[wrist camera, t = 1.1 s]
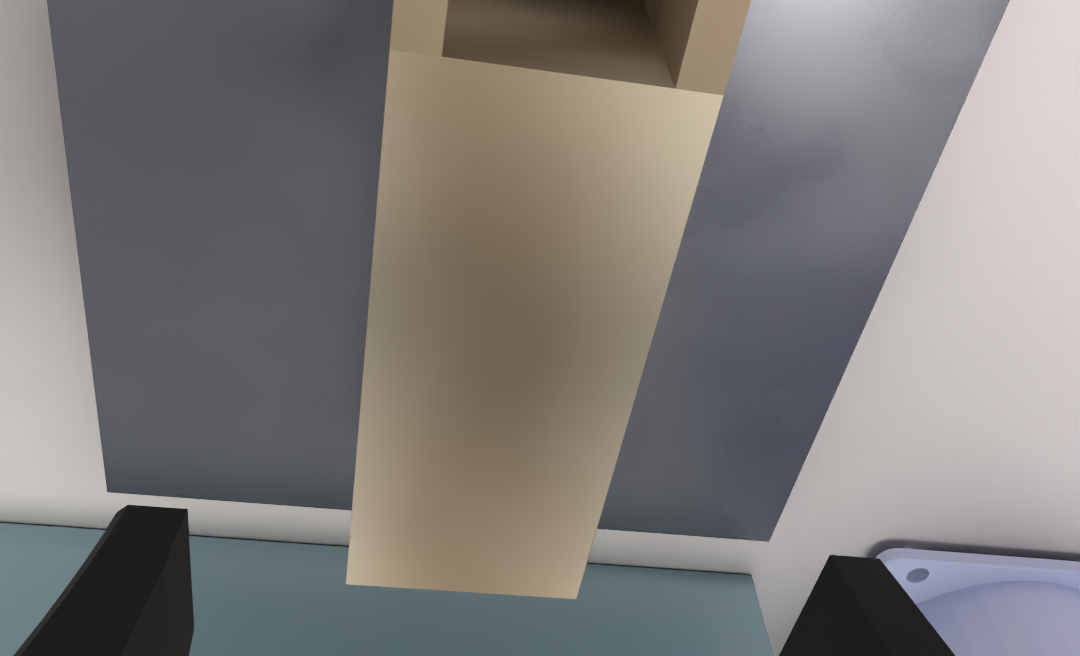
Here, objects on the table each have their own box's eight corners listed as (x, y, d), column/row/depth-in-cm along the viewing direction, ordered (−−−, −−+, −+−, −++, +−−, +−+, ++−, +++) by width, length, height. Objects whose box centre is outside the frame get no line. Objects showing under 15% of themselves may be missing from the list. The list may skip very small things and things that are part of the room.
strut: (742, -268, 13) (814, -216, 10) (562, 458, 21) (575, 598, 18) (429, -327, 13) (417, -288, 10) (363, 441, 20) (346, 584, 18)
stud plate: (1144, -382, 13) (1314, -362, 11) (760, 514, 23) (797, 641, 21) (-4, -632, 11) (-152, -684, 9) (118, 463, 21) (67, 596, 19)
